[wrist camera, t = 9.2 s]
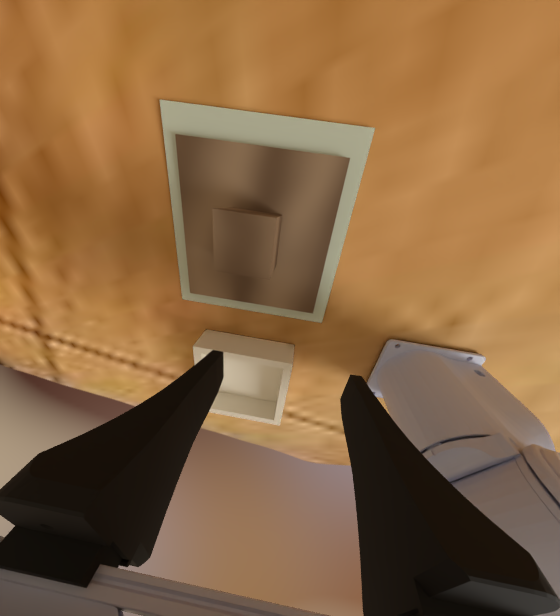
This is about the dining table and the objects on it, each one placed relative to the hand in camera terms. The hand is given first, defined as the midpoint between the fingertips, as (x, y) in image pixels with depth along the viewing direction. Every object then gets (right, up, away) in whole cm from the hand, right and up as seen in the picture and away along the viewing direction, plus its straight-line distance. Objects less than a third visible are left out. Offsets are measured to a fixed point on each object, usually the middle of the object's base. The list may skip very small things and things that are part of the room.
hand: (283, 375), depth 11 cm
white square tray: (-4, -4, +13) cm, 14 cm away
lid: (-2, +10, +5) cm, 11 cm away
